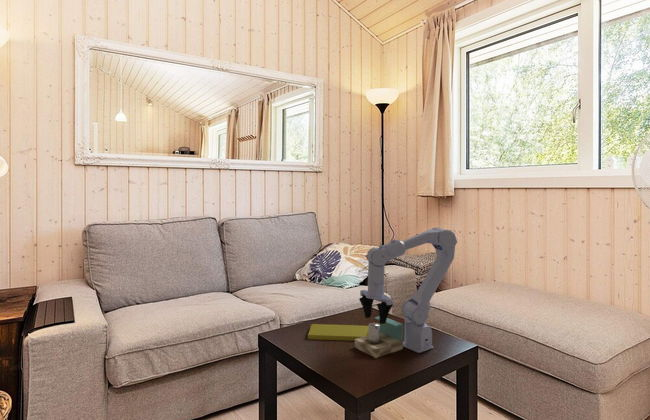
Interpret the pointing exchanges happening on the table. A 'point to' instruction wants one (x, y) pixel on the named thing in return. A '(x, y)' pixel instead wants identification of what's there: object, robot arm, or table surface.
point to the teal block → (392, 328)
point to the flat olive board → (337, 332)
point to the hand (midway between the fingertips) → (375, 320)
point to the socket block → (379, 345)
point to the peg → (374, 333)
